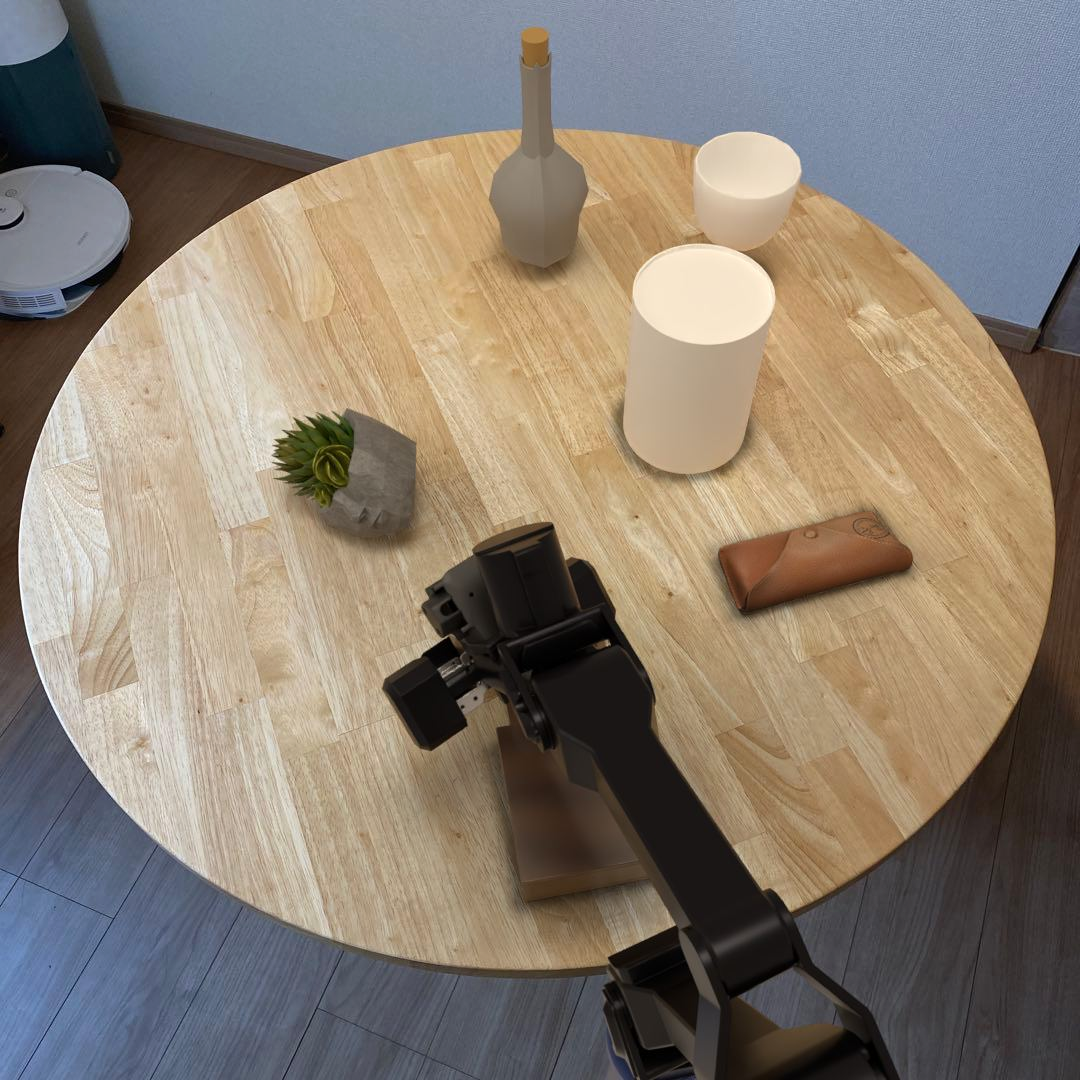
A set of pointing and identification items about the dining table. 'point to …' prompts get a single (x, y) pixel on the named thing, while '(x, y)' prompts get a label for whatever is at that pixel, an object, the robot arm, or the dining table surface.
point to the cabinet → (559, 825)
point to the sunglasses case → (810, 560)
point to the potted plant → (352, 472)
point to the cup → (744, 188)
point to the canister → (694, 355)
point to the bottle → (538, 171)
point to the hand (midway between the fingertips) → (467, 634)
